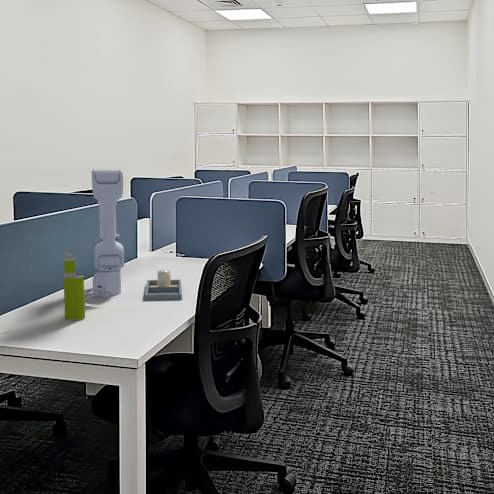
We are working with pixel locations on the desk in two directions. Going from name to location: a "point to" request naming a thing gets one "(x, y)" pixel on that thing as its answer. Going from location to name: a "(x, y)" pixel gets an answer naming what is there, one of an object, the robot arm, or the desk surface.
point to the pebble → (164, 278)
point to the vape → (73, 290)
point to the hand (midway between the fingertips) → (108, 260)
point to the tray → (163, 291)
